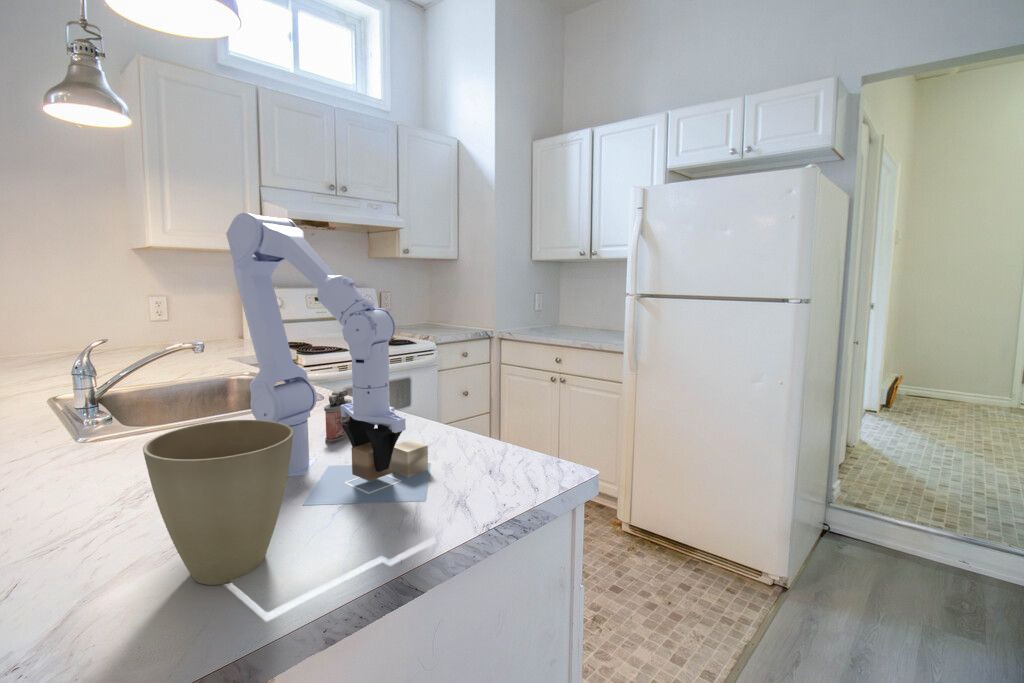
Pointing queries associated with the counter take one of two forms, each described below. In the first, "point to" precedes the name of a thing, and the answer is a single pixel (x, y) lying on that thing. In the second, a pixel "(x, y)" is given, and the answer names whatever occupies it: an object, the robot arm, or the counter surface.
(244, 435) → the plant pot
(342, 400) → the lighter
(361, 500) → the blueprint board
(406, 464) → the ash block
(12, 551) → the counter surface
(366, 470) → the walnut block
